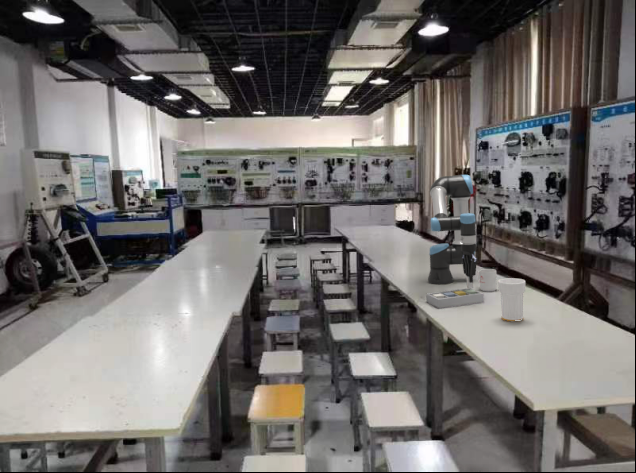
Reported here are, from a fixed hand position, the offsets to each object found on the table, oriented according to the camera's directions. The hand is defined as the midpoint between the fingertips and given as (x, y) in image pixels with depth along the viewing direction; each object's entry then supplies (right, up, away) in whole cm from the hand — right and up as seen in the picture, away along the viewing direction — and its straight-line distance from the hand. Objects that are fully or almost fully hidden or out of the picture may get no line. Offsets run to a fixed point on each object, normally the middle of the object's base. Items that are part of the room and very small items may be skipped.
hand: (470, 288), depth 246 cm
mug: (+16, -3, +20) cm, 26 cm away
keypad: (-8, -7, -1) cm, 11 cm away
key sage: (0, -4, +1) cm, 4 cm away
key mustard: (-6, -4, -1) cm, 7 cm away
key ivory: (-17, -5, -3) cm, 18 cm away
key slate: (-11, -5, -2) cm, 12 cm away
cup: (+8, -10, -34) cm, 36 cm away
